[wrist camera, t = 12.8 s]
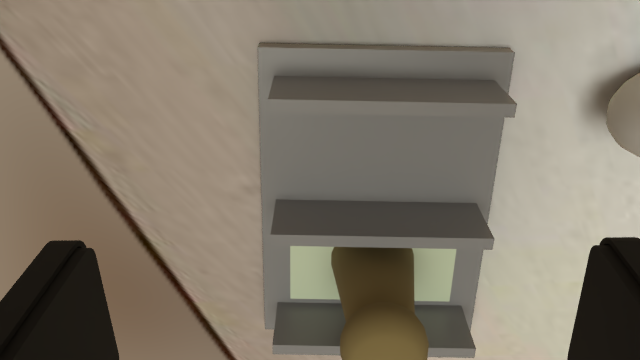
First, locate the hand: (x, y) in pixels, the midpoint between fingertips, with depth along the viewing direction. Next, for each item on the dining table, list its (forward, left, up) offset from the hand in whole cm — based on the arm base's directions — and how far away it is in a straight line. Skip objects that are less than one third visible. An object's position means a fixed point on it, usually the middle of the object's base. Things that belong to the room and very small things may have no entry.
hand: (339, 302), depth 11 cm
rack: (-4, +13, -29) cm, 32 cm away
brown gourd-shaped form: (-4, +17, -28) cm, 33 cm away
